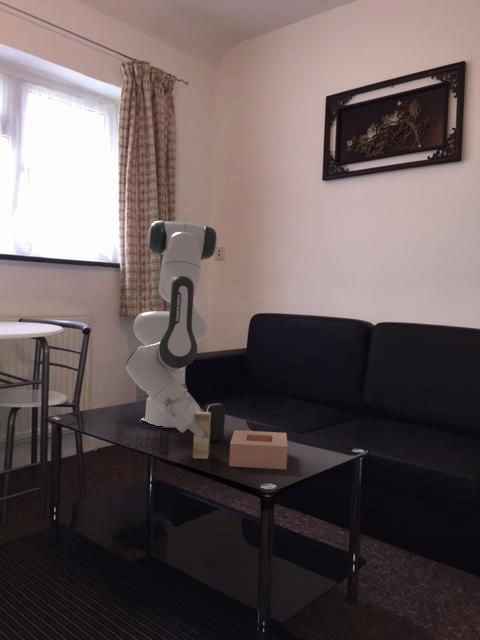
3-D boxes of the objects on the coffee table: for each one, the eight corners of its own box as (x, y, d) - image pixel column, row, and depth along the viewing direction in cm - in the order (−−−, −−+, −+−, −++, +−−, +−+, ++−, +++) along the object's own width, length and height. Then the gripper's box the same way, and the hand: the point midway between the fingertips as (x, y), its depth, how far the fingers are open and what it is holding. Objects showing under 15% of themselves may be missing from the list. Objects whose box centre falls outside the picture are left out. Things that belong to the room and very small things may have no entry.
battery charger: (216, 437, 171) (217, 401, 170) (224, 439, 168) (226, 403, 167) (199, 440, 166) (201, 403, 165) (207, 443, 163) (209, 405, 163)
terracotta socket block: (233, 450, 156) (234, 430, 156) (285, 453, 155) (286, 432, 155) (229, 466, 141) (230, 443, 141) (286, 469, 140) (287, 446, 140)
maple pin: (195, 453, 151) (196, 411, 151) (209, 454, 151) (210, 412, 150) (192, 457, 147) (194, 414, 147) (207, 458, 147) (208, 415, 146)
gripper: (171, 395, 138) (207, 435, 138) (184, 383, 159) (216, 418, 158) (153, 411, 139) (190, 451, 138) (169, 398, 159) (201, 432, 159)
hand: (204, 433), depth 149 cm, fingers closed on maple pin, 4 cm apart
